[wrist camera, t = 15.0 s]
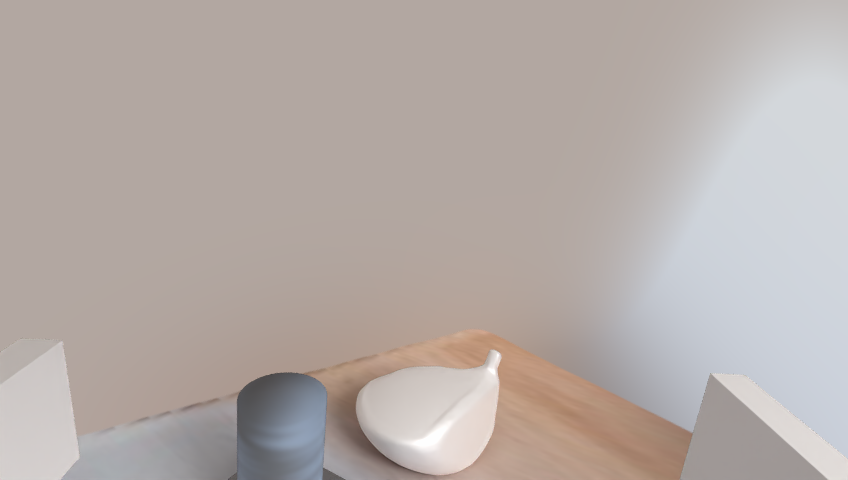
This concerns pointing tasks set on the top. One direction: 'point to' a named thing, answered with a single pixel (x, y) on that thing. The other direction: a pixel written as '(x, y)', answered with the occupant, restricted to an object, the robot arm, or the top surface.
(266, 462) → the peg
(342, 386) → the top surface
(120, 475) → the top surface
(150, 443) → the top surface
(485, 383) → the driver head
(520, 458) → the top surface
